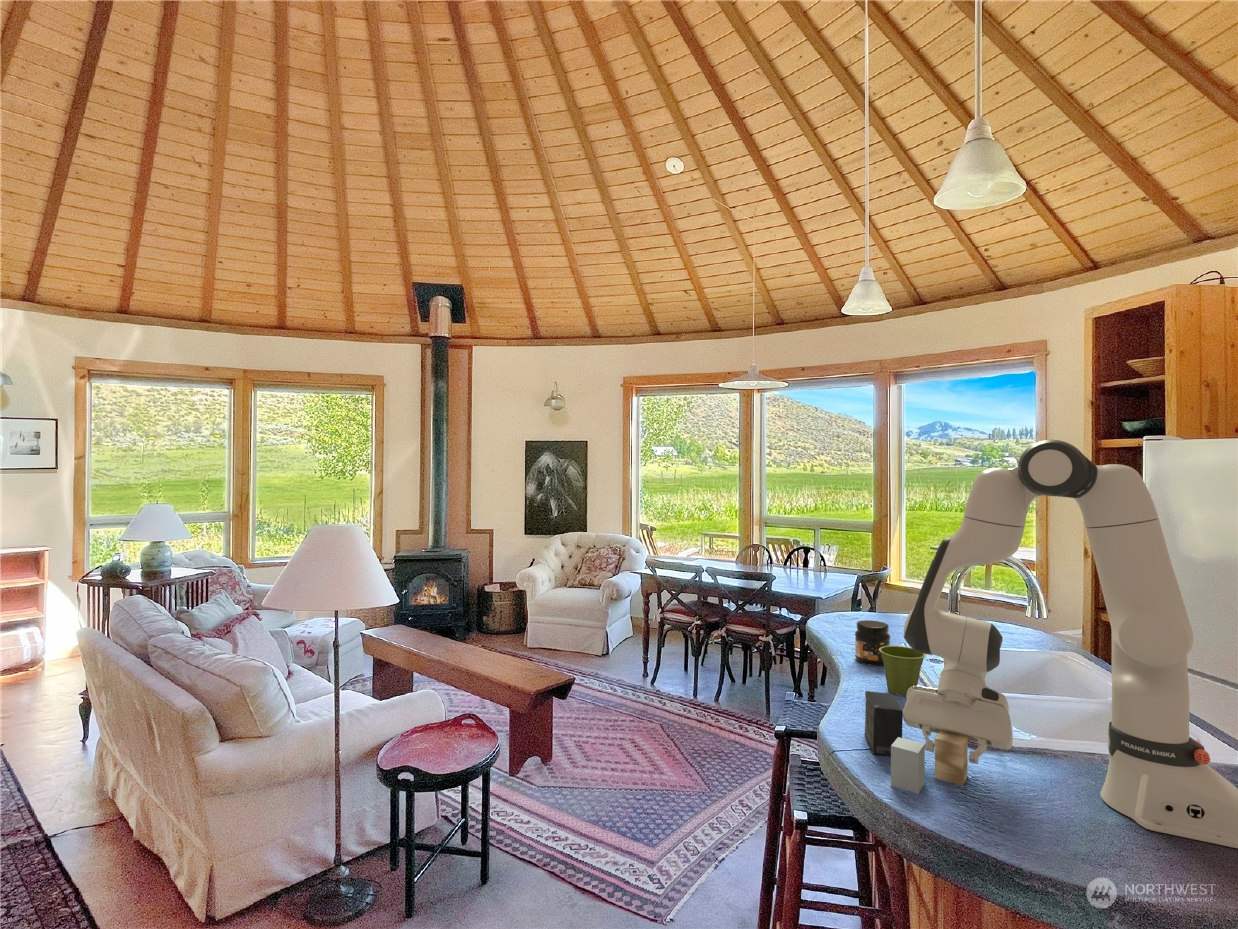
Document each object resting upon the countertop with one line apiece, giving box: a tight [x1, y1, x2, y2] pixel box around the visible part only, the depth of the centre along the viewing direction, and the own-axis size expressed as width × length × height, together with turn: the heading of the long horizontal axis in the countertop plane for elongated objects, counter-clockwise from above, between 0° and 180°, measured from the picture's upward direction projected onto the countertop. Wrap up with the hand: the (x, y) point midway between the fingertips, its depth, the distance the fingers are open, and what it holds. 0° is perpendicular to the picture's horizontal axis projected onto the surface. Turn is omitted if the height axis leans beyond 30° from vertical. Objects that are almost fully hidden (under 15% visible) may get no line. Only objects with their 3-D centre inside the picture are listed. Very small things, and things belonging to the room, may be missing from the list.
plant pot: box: [879, 645, 927, 697], centre depth 176 cm, size 12×12×11 cm
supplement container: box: [854, 619, 891, 666], centre depth 204 cm, size 10×10×12 cm
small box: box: [864, 690, 904, 757], centre depth 143 cm, size 11×6×10 cm, turn 168°
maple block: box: [934, 730, 969, 787], centre depth 129 cm, size 5×5×8 cm
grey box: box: [890, 737, 926, 795], centre depth 126 cm, size 5×5×8 cm
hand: (950, 756), depth 128 cm, fingers open, 7 cm apart
